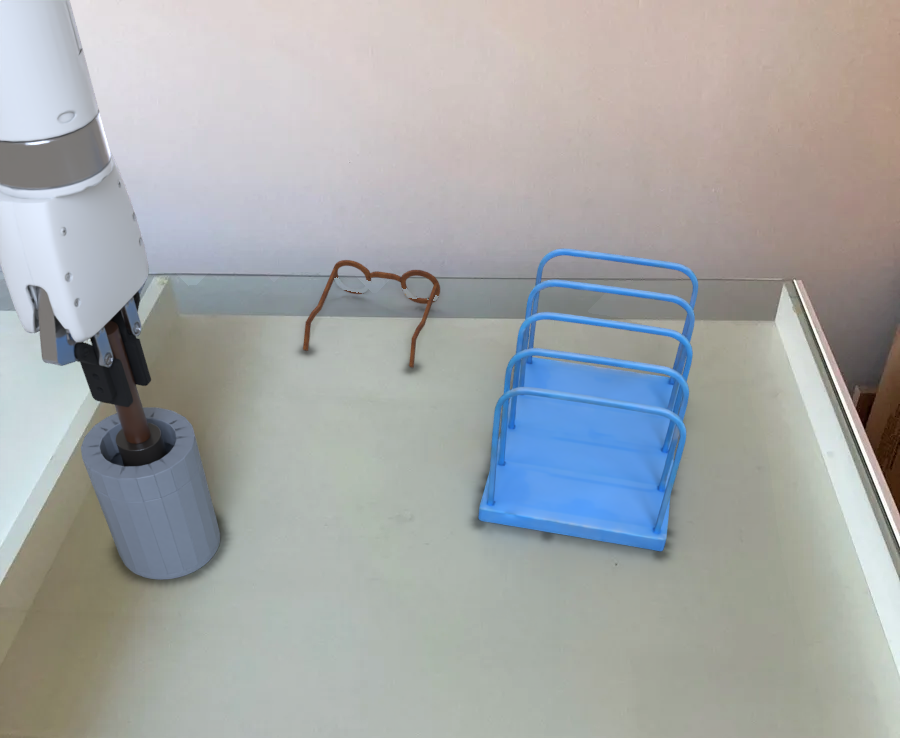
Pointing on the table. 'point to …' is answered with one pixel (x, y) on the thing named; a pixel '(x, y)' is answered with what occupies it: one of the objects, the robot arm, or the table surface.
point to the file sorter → (590, 428)
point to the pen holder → (154, 498)
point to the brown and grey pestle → (134, 415)
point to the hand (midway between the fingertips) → (122, 389)
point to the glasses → (368, 277)
